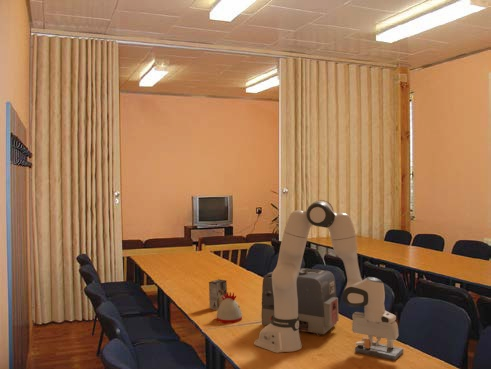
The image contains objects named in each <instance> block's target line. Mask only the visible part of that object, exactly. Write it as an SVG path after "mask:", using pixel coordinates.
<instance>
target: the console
mask: <svg viewBox="0 0 491 369" xmlns="http://www.w3.org/2000/svg"><path fill="white" fill-rule="evenodd" d="M354 353H357V354H363V355H366V356H371V357H375V358H381V359H387V360H390V361H396V360H398V359H399V358H400V356H402V354H404V348H403V347H398V346H394V345H393V347H392V348H389V347H387V344H383V343H379V346H378V347H376V346H371V347H370V348H365V344H364V345H356V347H354Z"/></svg>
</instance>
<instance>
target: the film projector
mask: <svg viewBox="0 0 491 369" xmlns="http://www.w3.org/2000/svg"><path fill="white" fill-rule="evenodd" d="M272 273H273V271H271V272H268V273H266V274H265V275H264V276H263V278H262V288H261V289H262V290H261V311H260V312H261V325H264V326H265V327H266V326H267V325H269V324H270V323H271V321H272V319H271V320H269V319H270V317H272V316H273V315H274V295H273V287H272ZM335 279H336V278H335V275H334V273H332V272H331V271H329V270H322V269H313V268H312V269H311V268H304V267H303V268H301V267H300V271H299V276H298V278H297V283H296V284H297V297H298V316H299V332H301V331H302V332H307V333H315V334H316V336H317V337H318V336H319V337H320V336H321V335H325V334H326V333H327V332H329V331H330V330H331V329H332V328H333V327H334V326H336V325H337V324H338V323H337V322H339V319H340V318H339V317H340V316H339V297H337V289H336V280H335Z"/></svg>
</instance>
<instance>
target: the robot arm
mask: <svg viewBox="0 0 491 369" xmlns="http://www.w3.org/2000/svg"><path fill="white" fill-rule="evenodd" d="M313 226H315V227H320V228H326V229H328V231H329V235H330V241H331V245H332V249H333V251H334V253H335V255H336V257H339V258H340V260H341V261H342V262H343V265H344V269H345V274H346V279H347V282H346V286H345V288H344V290H343V292H342V301H343V303H344V304H345V305H346V306H348V307H350V308H360V307H364V308H363V311H364V312H359V311H355V312H353V313H352V315H351V316H352V318H351V319H352V323H351V324H352V325H351V330H352V332H353V333H355V334H358V335H365V336H367V337H368V338H369V340H370V341H371V346H376V347H378V346H379V344H380V341H381V340H382V339H385V340H387V339H390V340H393V341H396V340H397V339H398V337H399V326H398V323H397V321H396V320H397V315H395V314H393V313H391V312H389V311H387V310H386V308H385V306H386V305H385V298H386V296H385V295H386V294H385V290H386V289H385V285H384V282H383V281H382V280H381V279H379V278H377V277H373V276H367V277H366V278H364V279H363V278H362V274H361V271H360V266H359V262H358V241H357V235H356V230H355V227H354V223H353V220H352V218H351V216H350V215H349V214H348V213H345V212H334V208H333V205H332V204H331V203H330V202H329V201H327V200H323V199H320V200H316V201H314V202H312V203H311V204H310V205H309V206H308V208H307V209H306V210H302V209H297V210H293V211H292V212H291V213H290V214H289V216H288V219H287V222H286V224H285V227H284V230H283V234H282V237H281V238H282V239H281V243H280V246H279V252H278V258H277V264H276V266H275V268H274V269H273V271H272V272H273V273H272V287H273V295H274V315H273V316H272V317H270V319H269V320H271V319H272V321H271V323H270V324H269V325H267V326H266V325H265V327H263V328H261V330H260V331H259V337H258V338H257V339H255V341H254V344H253V345H254V346H257V347H259V348H262V349H264V350H268V351H270V352H273V353H285V352H286V353H287V352H289V353H290V352H296V351H299V350H301V349H302V348H303V344H302V341H301V336H300V330H299V316H298V297H297V284H296V283H297V278H298V276H299V271H300V268H301V267H302V264H303V263H302V262H303V258H304V253H305V250H306V247H307V246H306V245H307V241H308V237H309V232H310V229H311V227H313ZM374 337H376V341H375V340H374Z"/></svg>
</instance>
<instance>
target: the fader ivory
mask: <svg viewBox="0 0 491 369" xmlns="http://www.w3.org/2000/svg"><path fill="white" fill-rule="evenodd" d="M386 345H387V347H389V348H392V347H393V346H394V340H390V339H386Z"/></svg>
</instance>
